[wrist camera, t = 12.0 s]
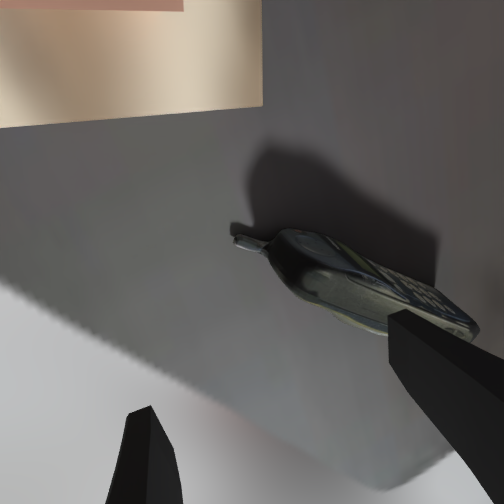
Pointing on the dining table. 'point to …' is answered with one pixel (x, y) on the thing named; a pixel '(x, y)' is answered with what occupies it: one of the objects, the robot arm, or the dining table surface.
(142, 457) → the robot arm
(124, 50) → the birch block
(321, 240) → the mobile phone
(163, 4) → the terracotta cube
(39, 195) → the dining table surface
